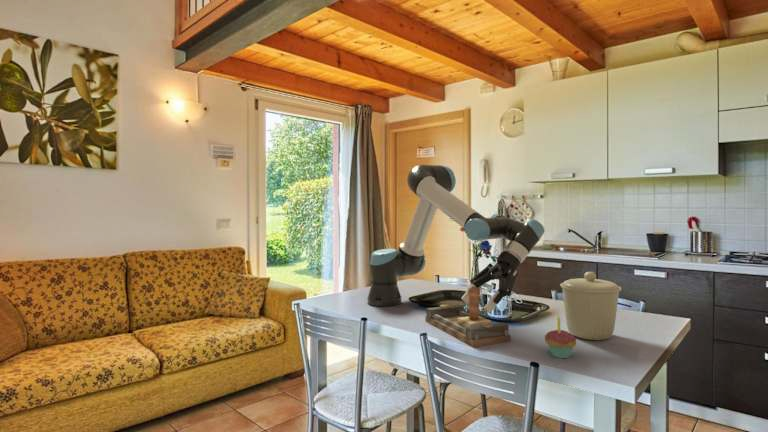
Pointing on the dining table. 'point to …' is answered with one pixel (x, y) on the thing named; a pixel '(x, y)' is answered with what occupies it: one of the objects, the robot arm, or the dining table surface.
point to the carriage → (472, 310)
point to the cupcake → (560, 342)
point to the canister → (590, 306)
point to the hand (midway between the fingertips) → (475, 305)
